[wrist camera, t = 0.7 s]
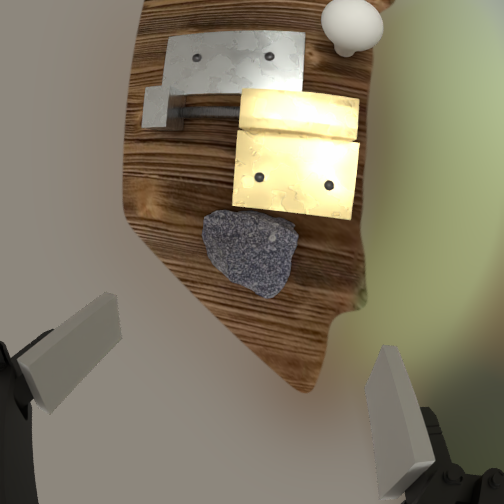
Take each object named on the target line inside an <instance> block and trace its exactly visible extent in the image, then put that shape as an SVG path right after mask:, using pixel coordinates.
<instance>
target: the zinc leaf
mask: <svg viewBox="0 0 504 504" xmlns="http://www.w3.org/2000/svg"><path fill="white" fill-rule="evenodd" d="M304 51H305V33H303V32H288V31H224V32H209V33H198V34H188V35H180V36H173V37H169V39H168V45H167V52H166V58H165V65H164V73H163V81H162V86H153V87H146V89H145V97H144V107H143V118H142V128H146V129H153V130H159V131H178V130H183V128H184V118H240V107H233V106H200V107H185V106H186V96H194V95H242V88H255V89H276V90H290V91H302V85H303V69H304Z"/></svg>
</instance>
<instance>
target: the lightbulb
mask: <svg viewBox="0 0 504 504" xmlns="http://www.w3.org/2000/svg"><path fill="white" fill-rule="evenodd" d="M321 24H322V28H323V30H324V32H325V34H326V36H327V37H328V38H329V39H330V40H331V41H332V42H333V43H334V49H335V51H336V53H337V54H339V55H340V56H343V57H350V56H352V55H353V54H354V53H355V52H356V51H363V50H367V49H369V48H372V47H373V46H375V45H376V44H377V43H378V42H379V41H380V39H381V37H382V34H383V21H382V18H381V16H380V14H379V13H378V11H377V10H376V9H375V8H374V7H373V6H372V5H371V4H369V3H368V2H366V1H364V0H333V1H331V2H330V3H329V4H328V5H327V6H326V7H325V9H324V11H323V12H322V17H321Z"/></svg>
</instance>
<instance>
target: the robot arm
mask: <svg viewBox="0 0 504 504" xmlns="http://www.w3.org/2000/svg"><path fill="white" fill-rule="evenodd" d="M121 339H122V335H121V328H120V320H119V311H118V302H117V295H115V294H111V293H107V292H104V293H103V294H102V295H100V296H99V297H98V298H96V299H95V300H93V301H92V302H91V303H89V304H88V305H87V306H85V307H84V308H82V309H81V310H80V311H78V312H77V313H76V314H75V315H73V316H72V317H71V318H69V319H68V320H66V321H65V322H64V323H63V324H61V325H60V326H58V327H57V328H56V329H51V330H49V331H46V332H44V333H42V334H41V335H40V336H38V337H37V339H35V340H33V341H32V342H31V344H28V345H27V346H26V347H24V348H23V349H22V350H20V351H19V352H18V353H17V354H15V355H14V356H13V357H12V358H10V356H9V353H8V350H7V348H6V345H5V344H4V343H3V342H2V341H0V504H39V503H38V497H37V490H36V483H35V475H34V463H33V448H32V406H31V403H30V401H31V400H32V399H34V400H35V402H36V404H37V406H38V407H39V408H40V409H41V410H43V411H44V412H46V413H47V414H49V415H50V414H51V413H52V412H53V411H54V410H55V409H56V408H57V407H58V405H60V404H61V402H62V401H63V400H64V399H65V398H66V397H67V396H68V395H69V394H70V393H71V392H72V391H73V390H74V388H75V387H76V386H77V385H78V384H79V383H80V382H81V381H82V380H83V379H84V378H85V377H86V376H87V375H88V374H89V373H90V372H91V370H92V369H93V368H94V367H95V366H96V365H97V364H98V363H99V362H100V361H101V360H102V359H103V358H104V357H105V356H106V355H107V354H108V353H109V352H110V351H111V349H113V348H114V347H115V345H116V344H117V343H118V342H119V341H120V340H121ZM365 394H366V399H367V405H368V412H369V418H370V425H371V431H372V439H373V446H374V454H375V463H376V471H377V482H378V493H379V500H386V499H396V498H398V497H399V496H400V495H402V494H403V493H404V492H405V496H406V500H404V501H403V502H402V503H401V504H504V473H503V472H502V471H501V470H500V469H497V468H491V469H489V470H487V471H486V472H485V473H484V474H483V475H482V476H479V475H470V474H465V472H464V470H463V469H462V468H461V467H460V466H459V465H457V464H454V463H452V462H451V459H450V455H449V452H448V449H447V446H446V443H445V440H444V437H443V435H442V431H441V428H440V427H439V422H438V419H437V417H436V415H435V414H434V413H433V411H432V410H431V409H430V408H429V407H419V405H418V402H417V399H416V396H415V393H414V390H413V387H412V384H411V382H410V379H409V376H408V374H407V371H406V368H405V365H404V363H403V360H402V358H401V355H400V353H399V350H398V348H397V346H389V345H382V347H381V350H380V352H379V355H378V358H377V360H376V363H375V365H374V367H373V370H372V372H371V374H370V377H369V379H368V381H367V383H366V386H365Z"/></svg>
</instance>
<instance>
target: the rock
mask: <svg viewBox="0 0 504 504" xmlns="http://www.w3.org/2000/svg"><path fill="white" fill-rule="evenodd" d="M203 224H204V226H203V230H202V238H203V241H204V244H205V245H206V250H207V255H208V257H209V259H210V260H211V262H212V264H213V265H214V266H215V267H216V268H217V269H218V270H220V271H221V272H222V273H223V274H224V275H225V276H226V277H227V278H228V279H229V280H230V281H231V282H233V283H238V284H240V285H242V286H244V287H246V288H249V289H251V290H253V291H254V292H255V293H256V294H257V295H260V296H262V297H264V298H272V297H274V296H275V295H276V294H278V293H279V292H280V291H281V289H282V288H283V287H284V285H285V283H286V281H287V279H288V277H289V275H290V270H291V258H292V255H293V253H294V251H295V249H296V247H297V239H298V233H296V231H295V230H294V229H293V228H294V227H295V225H294V224H293V223H292V222H289V221H287V220H285V219H284V218H280V217H279V218H273V217H271V216H268V215H267V214H264V213H259V212H257V211H240V212H232V211H229V210H217V211H215V212H213V213H211V214H210V215H207V216H205V217H204V223H203Z"/></svg>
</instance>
